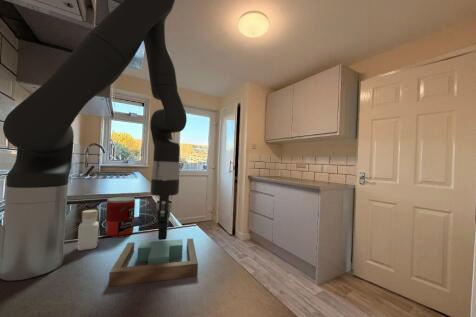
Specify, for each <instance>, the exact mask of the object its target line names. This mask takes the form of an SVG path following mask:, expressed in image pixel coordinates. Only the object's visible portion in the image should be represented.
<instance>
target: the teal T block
mask: <svg viewBox="0 0 476 317" xmlns="http://www.w3.org/2000/svg"><path fill="white" fill-rule="evenodd" d="M183 244H184V243H183V238H182V239H165V240H154V241H153V240H151V241H150V240H149V241H140V243H139V245H138V248H137V259H136V261H137V262H145V261H146V262H147V265H153V264H163V263H170V259H180V258H183Z"/></svg>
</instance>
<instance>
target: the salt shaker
mask: <svg viewBox="0 0 476 317" xmlns="http://www.w3.org/2000/svg"><path fill="white" fill-rule="evenodd" d="M97 218H98V210H97V209H87V210H83V211H82V212H81V219H82V221H81V223H80V224H79V225H78V233H77V247H76V249H77V250H78V251H87V250H92V249H93V250H94V249H95V248H97V245H98V243H99V242H98V241H99V226H100V222H99V221H98V220H97Z"/></svg>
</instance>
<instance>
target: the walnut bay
mask: <svg viewBox="0 0 476 317" xmlns="http://www.w3.org/2000/svg"><path fill="white" fill-rule="evenodd" d="M135 244H136V243H135V242H127V243H126V245H125V246H124V248H123V250H122V252H121V253H120V255H119V256H118V258H117V260H116V261H115V263H114V264H113V266H112V267H111V269H110V271H109V272H108V273H109V275H108V287H115V286H123V285H124V286H125V285H132V284H133V285H134V284H139V283H140V284H141V283H148V282H157V281H167V280H173V279H184V278H190V277H191V278H192V277H197V276H198V275H199V273H198V272H199V271H198V269H199V267H198V266H199V263H198V262H199V261H198V257H197V253H196V247H195V243H194V238H187V239H186V251H187V252H186V254H187V261H185V260H184V261H175V262H169V263H163V264H153V265H148V264H145V265H134V266H133V265H132V266H128V265H129V263H130V261H131V260H132V257H133V256H134V253H135Z"/></svg>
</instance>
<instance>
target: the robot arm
mask: <svg viewBox="0 0 476 317" xmlns="http://www.w3.org/2000/svg"><path fill="white" fill-rule="evenodd" d="M175 1H176V0H122V1H121V2H120V3H119V4H118V5H117V6H116V7H115V8H114V9H113V10H112V11H110V12H109V14H107V15H106V16H105V17H104V18H103V19H102V20H101V21H100V22H99V23H98V24H97V25H95V27H94V28H92V30H91V31H89V32H88V34H86V35H85V37H83V39H82V40H81V41H80V42H79V43H78V44H77V45H76V47H75V48H74V49H73V50H72V52H70V54H69V55H68V56H67V57H66V58H65V59H64V60H63V62H62V63H60V65H59V66H58V68H57V69H56V70H55V71H54V72H53V73H52V74H51V76H50V77H49V78H48V79H47V80H46V81H45V82H44V83H43V84H42V85H41V86H39V87H38V88H37V89H35V91H33V92H32V93H31V94H30V95H29V96H28V97H26V98H25V99H23V100H22V101H21V102H20V103H19V104H18V105H17V106H15V107H13V109H12V110H11V111H10V112H9V113H8V114H7V115H6V117H5V119H4V121H3V125H2V130H3V135H4V137H5V139H6V141H7V142H8V143H9V144H11V145H12V146H13V147H16V148H17V149H16V157H15V162H14V164H13V166H12V168H11V169H10V170H9V171H8V173H7V174H6V180H5V181H6V182H5V197H4V212H3V224H1V225H0V280H3V281H11V282H12V281H22V280H26V279H32V278H35V277H39V276H42V275H45V274H47V273H50V272H52V271H54V270H56V269H58V268H59V267H61V265H62V264H63V263H64V254H65V252H64V249H65V236H66V221H67V220H66V219H67V217H66V216H67V203H68V189H69V188H68V187H69V176H70V173H71V169H72V164H73V163H72V162H73V153H74V152H73V151H74V129H73V127H72V124H73V123H74V121H75V119H76V118H77V117H78V115H79V114H80V113H81V111H82V110H83V109H84V107H85V106H86V105H87V104H88V103H89V102H90V101H91V100H92V99H93V98H95V97H96V96H97V95H99V94H101V93H102V92H103V91H105V90H106V89H107V88H109V87H110V86H111V85H113V84H114V83H115V82H116V80H117V81H118V79H119V77H121V75H122V74H123V73H124V72H125V70H126V69H127V67H128V66H129V65H130V63H131V62H132V60H133V59H134V58H135V56H136V54H137V53H138V51H139V49H140V47H141V46H142V44H143V46H144V50H145V55H146V62H147V69H148V76H149V82H150V90H151V94H152V96H153V98H154V99H155V100H157V101H161V105H162V108H161V109H157V110H155V111H154V112H153V113H152V115H151V118H150V124H149V125H150V127H149V128H150V132H151V133H150V134H151V138H152V144H153V146H154V147H153V162H152V167H151V181H150V195H152V196H155V197H157V196H158V197H159V199H158V200H156V204H155V205H156V206H155V207H156V219H157V223H156V224H157V227H158V233H157V234H158V236H157V238H158V241H165V240H167V236H168V234H167V233H168V226H169V219H170V217H171V209H172V203H173V200H172V199H170V196H176V195H178V194H179V191H180V189H179V188H180V171H181V170H180V156H181V155H180V154H181V150H180V143H178V142H177V141H174V140H173V137H172V133H173V134H174V133H179V132H182V131H183V130H184V129H185V128H186V125H187V119H188V118H187V114H186V109H185V108H184V105H183V102H182V99H181V97H180V94H179V91H178V83H177V76H176V74H177V73H176V69H175V66H174V61H173V59H172V57H171V53H170V52H169V49H168V47H167V41H166V35H165V34H166V32H165V28H166V20H167V19H168V16H170V13H171V12H172V11H173V9H174V6H175Z"/></svg>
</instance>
